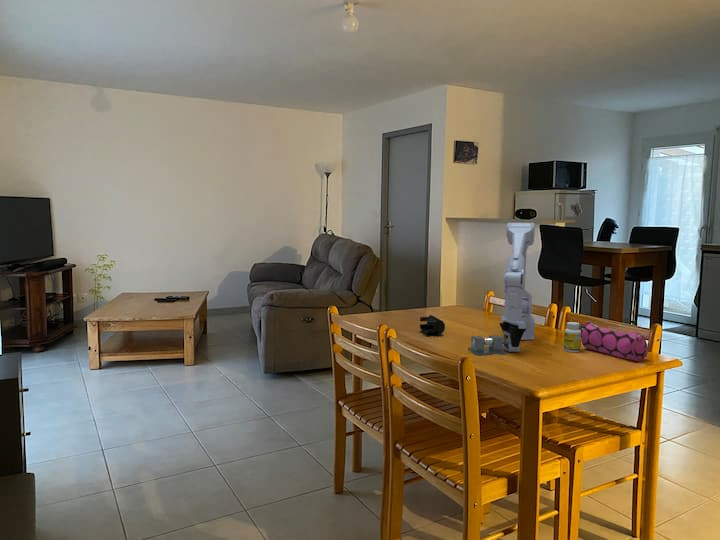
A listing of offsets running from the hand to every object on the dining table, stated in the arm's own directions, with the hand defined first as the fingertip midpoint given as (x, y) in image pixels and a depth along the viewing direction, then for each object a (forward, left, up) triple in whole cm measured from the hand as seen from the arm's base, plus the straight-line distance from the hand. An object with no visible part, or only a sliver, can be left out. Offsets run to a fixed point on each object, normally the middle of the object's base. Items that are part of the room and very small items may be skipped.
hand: (511, 344), depth 188 cm
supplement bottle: (-21, +3, -2) cm, 22 cm away
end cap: (+19, -30, -2) cm, 36 cm away
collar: (0, 0, -2) cm, 2 cm away
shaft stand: (+6, 0, -2) cm, 6 cm away
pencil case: (-32, +10, -2) cm, 34 cm away
